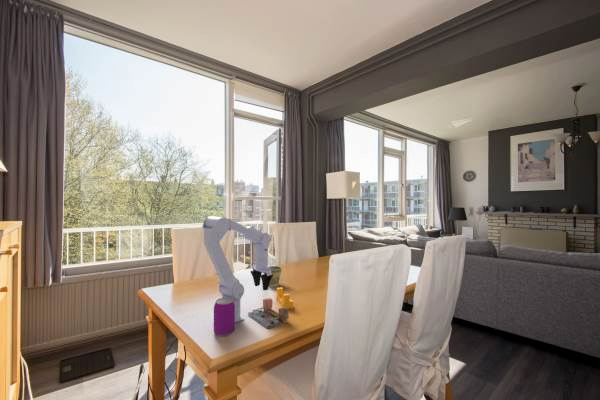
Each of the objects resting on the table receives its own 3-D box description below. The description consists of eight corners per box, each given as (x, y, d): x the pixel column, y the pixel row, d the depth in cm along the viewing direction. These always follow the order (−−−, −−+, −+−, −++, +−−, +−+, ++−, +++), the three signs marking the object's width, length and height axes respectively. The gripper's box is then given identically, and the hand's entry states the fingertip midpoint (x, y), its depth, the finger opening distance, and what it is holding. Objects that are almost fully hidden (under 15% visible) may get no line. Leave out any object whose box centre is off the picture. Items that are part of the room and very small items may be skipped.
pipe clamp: (293, 308, 133) (293, 294, 133) (284, 309, 131) (284, 295, 131) (285, 299, 144) (285, 286, 144) (276, 300, 143) (276, 287, 143)
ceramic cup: (280, 287, 162) (280, 270, 162) (263, 287, 163) (263, 270, 163) (282, 281, 175) (282, 264, 175) (266, 281, 176) (266, 264, 176)
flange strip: (267, 328, 112) (267, 324, 112) (248, 315, 124) (248, 311, 124) (280, 324, 115) (280, 320, 115) (260, 312, 128) (260, 308, 128)
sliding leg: (253, 313, 122) (253, 303, 122) (251, 311, 124) (251, 302, 124) (272, 308, 128) (272, 299, 128) (269, 306, 130) (270, 297, 130)
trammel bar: (269, 327, 113) (269, 313, 113) (250, 315, 124) (250, 302, 124) (288, 321, 118) (288, 308, 118) (269, 310, 130) (269, 298, 130)
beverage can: (235, 327, 113) (235, 296, 113) (233, 336, 105) (234, 303, 105) (215, 328, 112) (215, 297, 112) (212, 337, 104) (212, 304, 104)
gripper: (277, 260, 129) (277, 290, 129) (261, 254, 141) (261, 282, 141) (263, 261, 125) (263, 293, 125) (248, 256, 136) (248, 285, 136)
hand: (261, 287), depth 133 cm, fingers open, 7 cm apart
